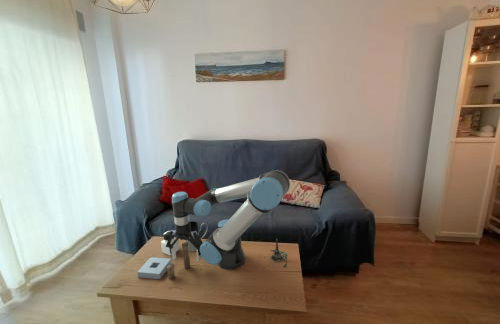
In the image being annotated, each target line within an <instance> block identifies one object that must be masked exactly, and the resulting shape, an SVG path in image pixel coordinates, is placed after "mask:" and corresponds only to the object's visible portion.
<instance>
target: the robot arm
mask: <svg viewBox="0 0 500 324" xmlns="http://www.w3.org/2000/svg"><path fill="white" fill-rule="evenodd" d="M290 181H291V180H290V178H289V176H288V174H286V173H285V172H284V171H282V170H279V169H278V170H276V169H275V170H271V171H269V172H268V171H267V172H265V173H263V174H260V175H259V177H256V178H252V179H249V180H245V181H242V182H241V181H240V182H238V183H233V184H230V185H226V186H223V187H219V188H216V187H214V188H212V189H209V190H208V191H206V192H205V193H203V194H202V195H200V196H199V197H197V198H193V197H189V195H188V193H187V192H186V191H177V192H175V193H173V194H172V196H171V205H172V210H173V220H174V229H171V230H170V231H171V232H170V237H169V239H168V242H167V244H166V247H169V248H170V253H171V254H172V255H171V257H172V259H171V260H172V261H175V260H176V258H177V251H175V246H173V245H174V244H175V243H176V242H177V241H179V240H180V241H186V240H188V241H190V242H191V243H192V244H193V246H194V247H195V248H196V249H197V250H196V252H195V253H196V261H197V263H199V262H200V261H201V257H202V259H203V260H204V261H205V262H206V263H208V264H210V265H213V266H215V265H216V266H217V265H218V266H219V267H220V268H222V269H224V270H236V269H239V268H241V267H242V266H243V265H244V264H245V263H246V254H245V251H244V249H243V247H242V235H243V234H244V233H245V232H246V231H247V229H249V228H250V226H251V225H253V224H254V223H255V221H257V220H258V218H259V217H260V216H261V215H262V214H263V215H265V214H266V215H267V214H269V213H270V212H271V210H273V209H274V208H276V207H277V206H278V205H279V204H280V203H281V201H282V199H283V198H284V197H285V195H286V194H287V193H288V192H289V190H290V186H291V182H290ZM244 198H247V199H246V200H245V201H244V202H243V204H242V205H240V207H239V208H238V209H237V210H236V211H235V212H234V213H233V215H232V216H231V217H230V218H228V219H222V220H219V222H218V223H217V228H216V229H214V231H213V232H212V233H211V234H210V236H209V237H207V239H206V240H205V241H203V240H202V239H201V237H200V234H199V235H198V233H197V231H196V230H195V231H194V232H192V231H191V225H190V222H191V217H190V215H192V216H193V215H194V216H197V217H207V216H208V215H209V213H210V212H211V210H212V207H213V206H214V205H218V204H221V203H222V204H223V203H226V202H230V201H234V200H235V201H236V200H238V199H239V200H240V199H244ZM191 234H192V235H193V236H194V238H195V239H194V238H193V236H192V235H191ZM174 235H176V236H177V237H175V238H176V239H175V240H174V242H173V243H172V244H170V243H171V241H172V238H173V236H174ZM189 237H190V238H189Z"/></svg>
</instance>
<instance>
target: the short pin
mask: <svg viewBox="0 0 500 324" xmlns="http://www.w3.org/2000/svg"><path fill="white" fill-rule="evenodd" d="M174 267H175V266H174V264H171V265H168V266H167V271H166V272H167V277H168V278H167V279H168V280H174V278H175V270H174V269H175V268H174Z"/></svg>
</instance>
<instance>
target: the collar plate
mask: <svg viewBox="0 0 500 324" xmlns="http://www.w3.org/2000/svg"><path fill="white" fill-rule="evenodd" d="M168 265H173V264H172V259H171V258H167V257H166V258H165V257H149V258H148V260H147V261H146V262H145V263H143V265H142V266H141V267H140V269H138V270H137V271H136V272H137V277H138V278H145V279H153V280H154V279H155V280H161V279H162V277H163V276H164V275H165V273H166V272H167V266H168Z"/></svg>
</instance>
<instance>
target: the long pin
mask: <svg viewBox="0 0 500 324" xmlns="http://www.w3.org/2000/svg"><path fill="white" fill-rule="evenodd" d="M181 248H182V249H181V250H182V257H183V265H184V269H185V270H190V268H191V260H190V253H189V252H190V251H189V249H188V243H187V242H186V241H184V242H182V243H181Z"/></svg>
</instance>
